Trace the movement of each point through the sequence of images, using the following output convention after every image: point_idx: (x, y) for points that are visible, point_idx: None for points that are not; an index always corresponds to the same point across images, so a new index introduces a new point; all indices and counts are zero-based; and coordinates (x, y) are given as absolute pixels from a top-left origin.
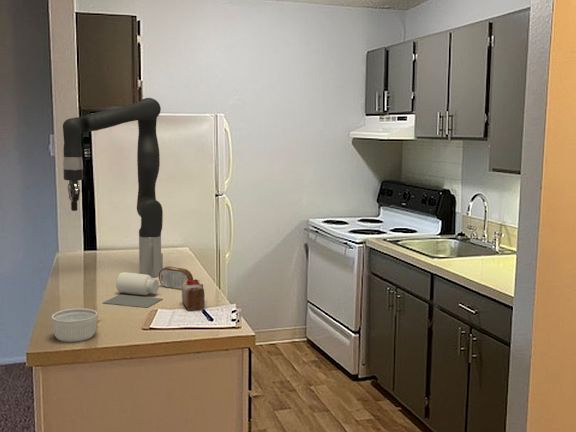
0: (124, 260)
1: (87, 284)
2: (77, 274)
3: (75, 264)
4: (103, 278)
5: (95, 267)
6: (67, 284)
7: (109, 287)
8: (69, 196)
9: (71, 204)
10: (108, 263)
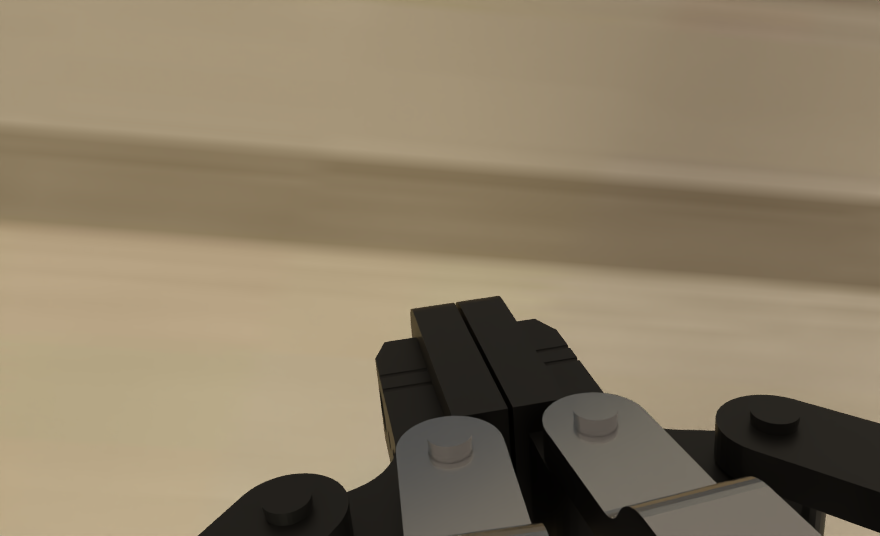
0: None
1: (150, 167)
2: (529, 122)
3: (876, 137)
4: (324, 296)
5: (708, 270)
6: (192, 10)
7: (5, 315)
8: (833, 443)
9: (471, 368)
10: (791, 363)
